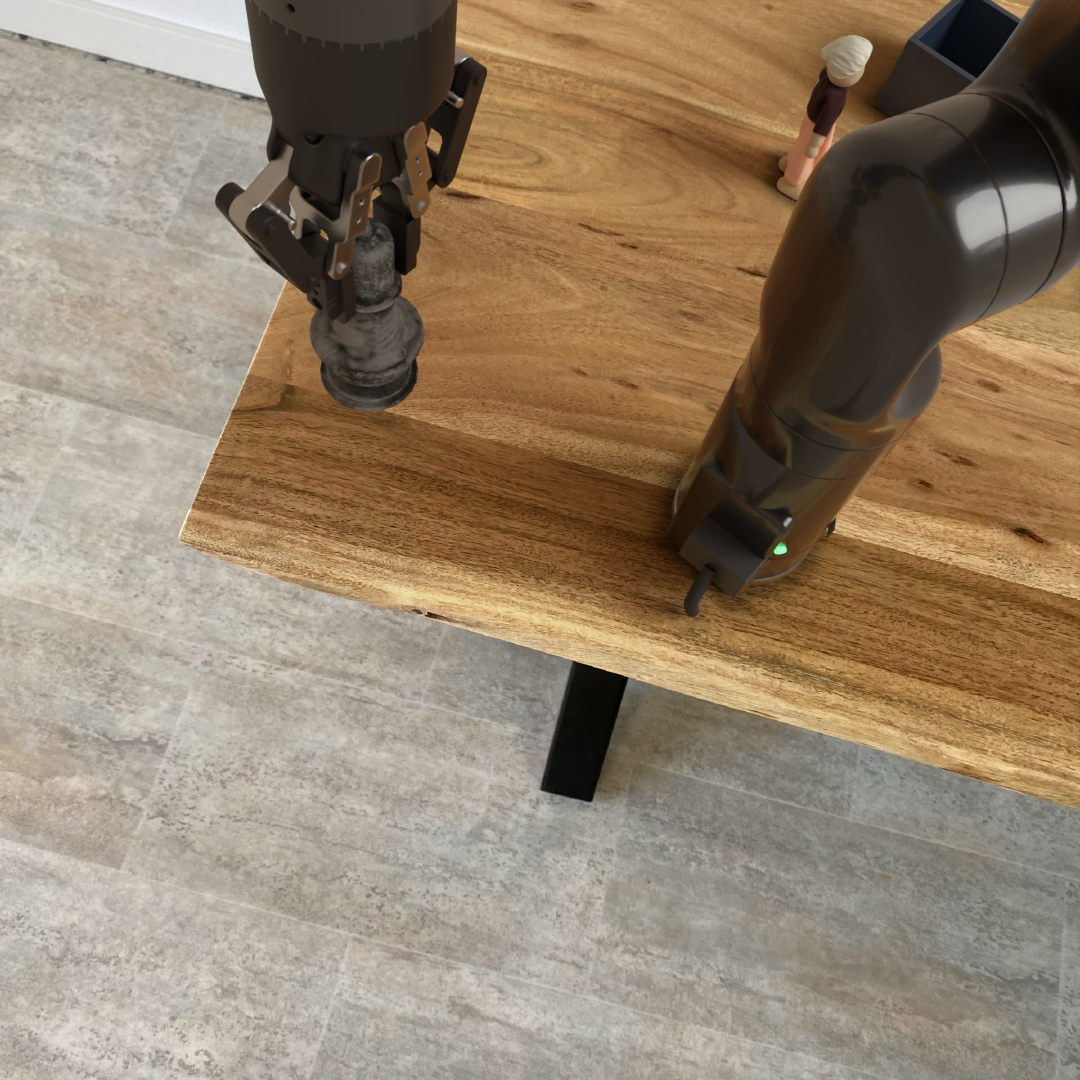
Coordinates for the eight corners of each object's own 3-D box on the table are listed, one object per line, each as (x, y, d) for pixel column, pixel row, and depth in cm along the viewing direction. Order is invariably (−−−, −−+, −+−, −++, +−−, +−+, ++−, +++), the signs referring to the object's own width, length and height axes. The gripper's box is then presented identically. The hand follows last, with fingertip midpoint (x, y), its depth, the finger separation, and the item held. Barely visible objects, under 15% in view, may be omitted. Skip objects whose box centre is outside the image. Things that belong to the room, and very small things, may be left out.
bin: (967, 169, 88) (1009, 105, 82) (874, 105, 90) (908, 38, 84) (1022, 112, 91) (1066, 47, 86) (931, 52, 93) (967, -16, 87)
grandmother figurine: (823, 213, 84) (891, 82, 72) (775, 208, 83) (836, 75, 72) (814, 140, 87) (878, 3, 76) (768, 135, 87) (825, -4, 75)
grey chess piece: (409, 426, 58) (410, 279, 47) (301, 403, 58) (277, 249, 47) (434, 339, 60) (440, 181, 50) (331, 317, 60) (315, 153, 50)
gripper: (276, 120, 34) (316, 420, 49) (562, -73, 39) (518, 249, 55) (113, -2, 35) (201, 325, 51) (410, -170, 41) (409, 169, 56)
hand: (366, 284), depth 53 cm, fingers closed on grey chess piece, 3 cm apart
